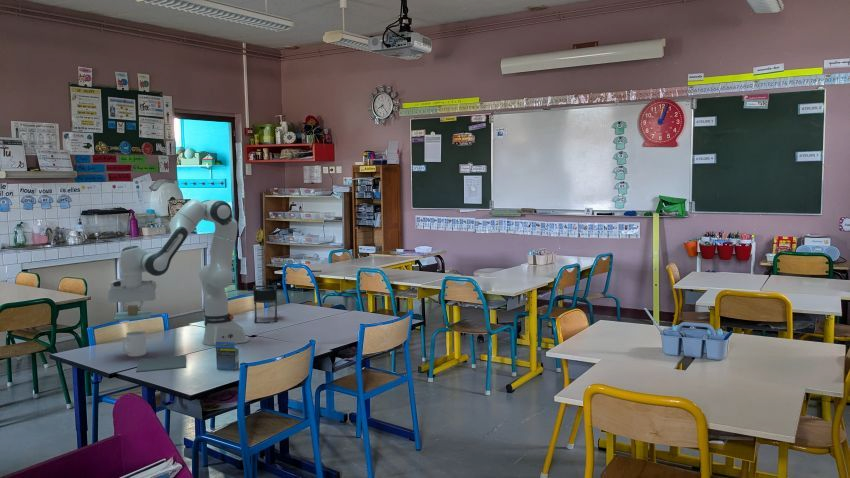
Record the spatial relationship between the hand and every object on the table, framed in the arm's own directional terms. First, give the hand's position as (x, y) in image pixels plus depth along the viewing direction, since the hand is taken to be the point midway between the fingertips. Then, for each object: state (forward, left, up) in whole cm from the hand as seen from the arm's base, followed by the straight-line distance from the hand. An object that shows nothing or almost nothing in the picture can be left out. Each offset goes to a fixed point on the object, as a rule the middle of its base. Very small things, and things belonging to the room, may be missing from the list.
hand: (132, 311), depth 305 cm
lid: (0, 0, -2) cm, 2 cm away
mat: (-13, +19, -21) cm, 31 cm away
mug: (0, -1, -21) cm, 21 cm away
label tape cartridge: (-40, +37, -21) cm, 58 cm away
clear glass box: (-67, -60, -21) cm, 92 cm away
